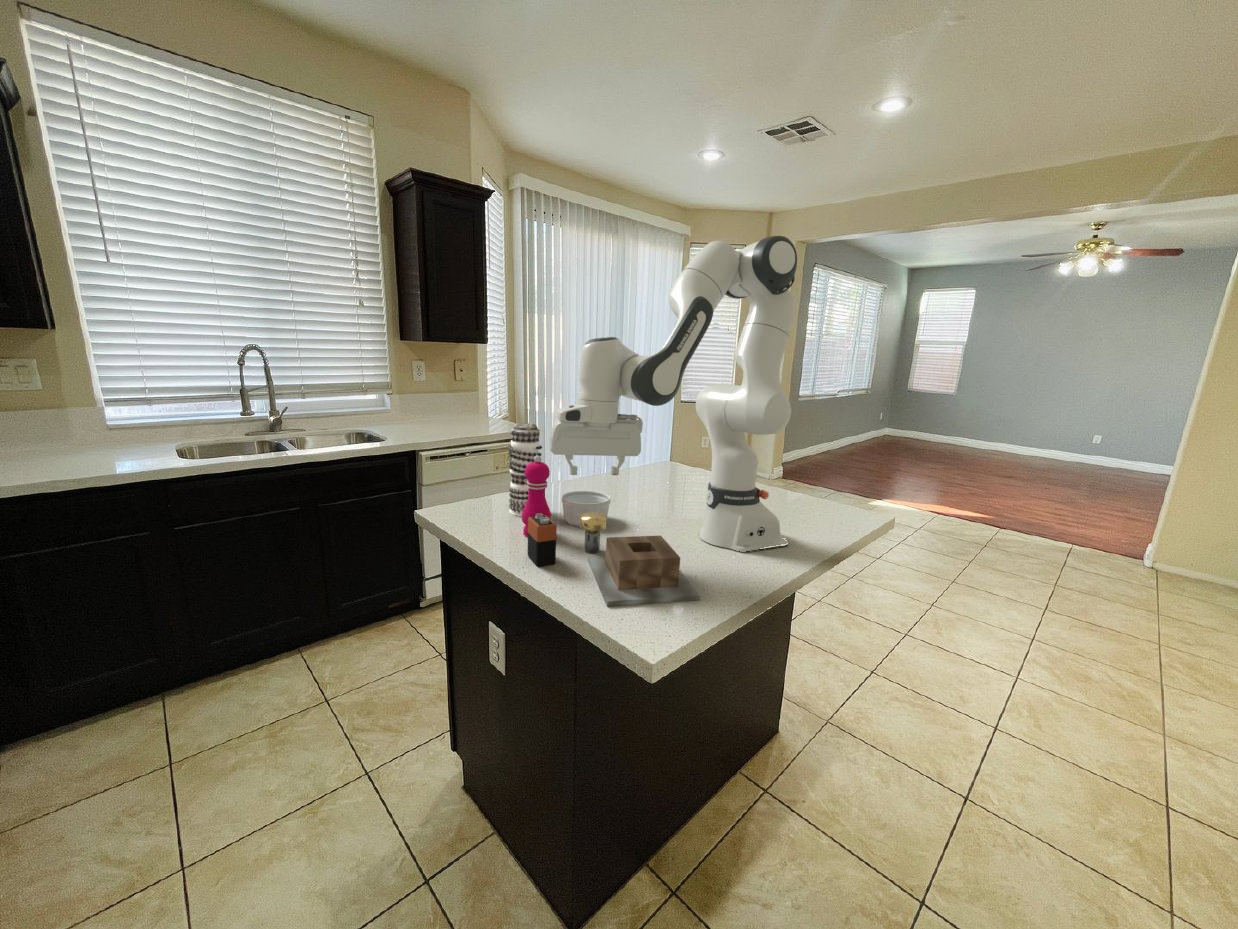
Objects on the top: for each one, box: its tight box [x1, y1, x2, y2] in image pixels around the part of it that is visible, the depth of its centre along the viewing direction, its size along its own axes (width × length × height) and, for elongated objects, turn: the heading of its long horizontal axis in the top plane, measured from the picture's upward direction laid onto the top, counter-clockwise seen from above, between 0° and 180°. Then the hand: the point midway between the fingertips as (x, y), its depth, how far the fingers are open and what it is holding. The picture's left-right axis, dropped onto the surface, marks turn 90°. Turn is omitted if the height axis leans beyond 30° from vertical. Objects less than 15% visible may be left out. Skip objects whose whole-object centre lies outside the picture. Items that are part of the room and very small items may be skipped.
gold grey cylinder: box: [579, 512, 608, 555], centre depth 112 cm, size 6×6×8 cm
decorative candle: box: [507, 422, 543, 517], centre depth 136 cm, size 9×9×25 cm
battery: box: [527, 514, 558, 567], centre depth 105 cm, size 4×7×10 cm, turn 28°
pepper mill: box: [521, 455, 552, 538], centre depth 120 cm, size 7×7×20 cm
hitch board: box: [587, 535, 701, 607], centre depth 99 cm, size 18×20×7 cm
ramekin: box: [561, 490, 611, 528], centre depth 133 cm, size 13×13×7 cm
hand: (594, 474), depth 109 cm, fingers open, 8 cm apart
